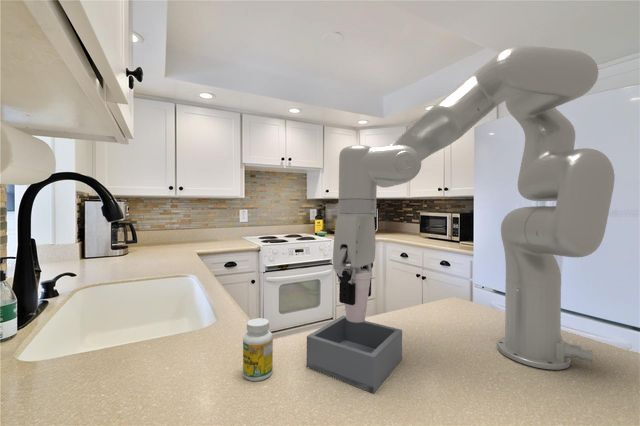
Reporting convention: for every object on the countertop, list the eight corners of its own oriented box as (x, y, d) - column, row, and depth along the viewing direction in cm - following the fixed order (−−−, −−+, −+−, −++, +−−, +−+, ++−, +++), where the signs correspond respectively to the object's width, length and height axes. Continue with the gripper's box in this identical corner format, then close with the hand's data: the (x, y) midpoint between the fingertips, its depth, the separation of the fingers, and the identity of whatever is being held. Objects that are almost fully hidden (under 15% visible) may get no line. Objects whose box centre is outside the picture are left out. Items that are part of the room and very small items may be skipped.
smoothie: (371, 326, 53) (372, 251, 54) (337, 323, 55) (338, 250, 55) (372, 315, 60) (373, 247, 60) (341, 312, 61) (342, 246, 61)
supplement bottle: (278, 370, 54) (278, 320, 54) (259, 385, 49) (259, 329, 50) (256, 363, 57) (257, 314, 57) (236, 376, 52) (236, 323, 52)
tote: (401, 358, 59) (402, 329, 59) (373, 393, 48) (374, 357, 48) (342, 341, 67) (343, 315, 67) (306, 367, 55) (306, 336, 56)
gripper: (359, 210, 67) (358, 287, 67) (316, 208, 52) (315, 306, 52) (391, 210, 62) (389, 293, 62) (353, 208, 48) (351, 315, 48)
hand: (355, 298), depth 57 cm, fingers closed on smoothie, 6 cm apart
